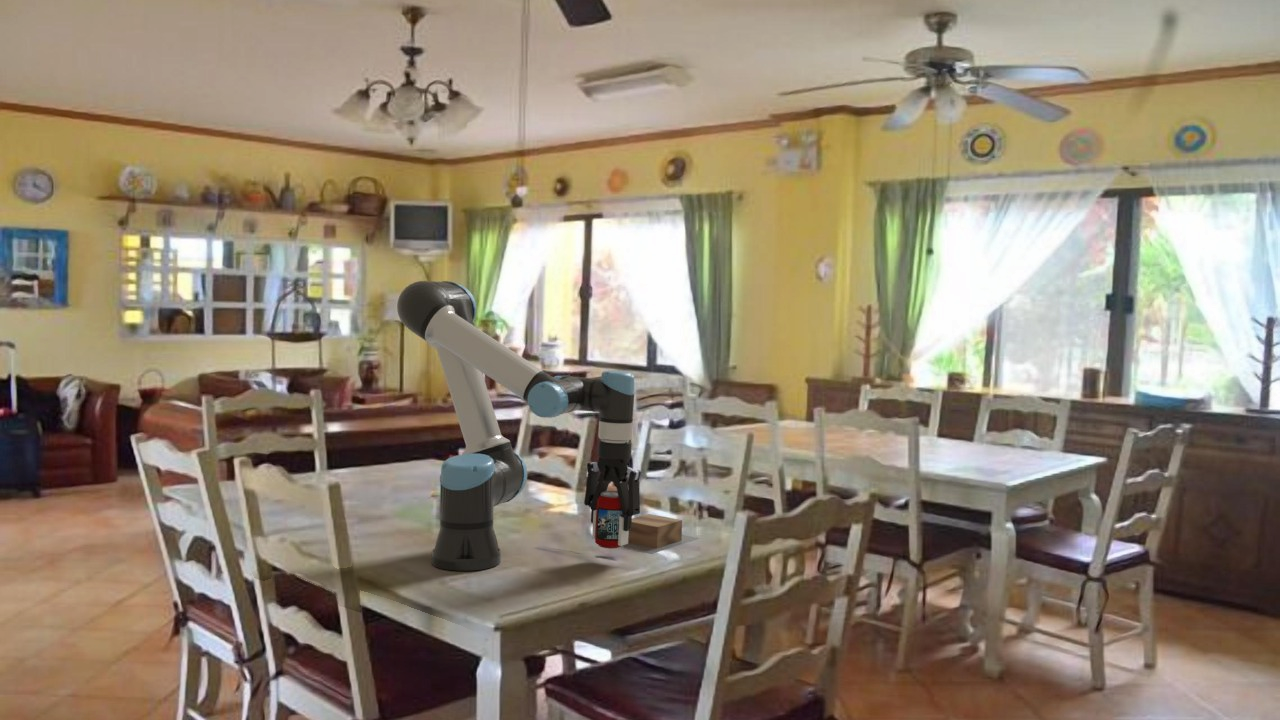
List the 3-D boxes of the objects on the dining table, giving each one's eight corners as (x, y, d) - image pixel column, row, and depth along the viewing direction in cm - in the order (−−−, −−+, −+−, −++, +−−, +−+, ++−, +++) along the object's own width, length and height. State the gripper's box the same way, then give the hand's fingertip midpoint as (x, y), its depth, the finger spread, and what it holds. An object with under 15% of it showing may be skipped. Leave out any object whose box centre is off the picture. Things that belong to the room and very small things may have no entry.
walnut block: (657, 548, 237) (657, 527, 236) (623, 541, 243) (623, 520, 242) (681, 540, 245) (682, 520, 244) (648, 533, 251) (648, 513, 250)
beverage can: (598, 550, 224) (601, 496, 223) (591, 542, 231) (594, 490, 230) (628, 549, 226) (630, 496, 225) (620, 541, 232) (623, 490, 232)
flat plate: (651, 558, 232) (651, 553, 232) (603, 548, 240) (603, 543, 240) (699, 543, 248) (699, 538, 248) (653, 533, 256) (653, 529, 256)
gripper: (660, 444, 224) (655, 546, 225) (591, 433, 235) (587, 530, 237) (640, 447, 218) (634, 553, 219) (570, 435, 229) (566, 535, 231)
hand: (610, 541), depth 228 cm, fingers closed on beverage can, 7 cm apart
